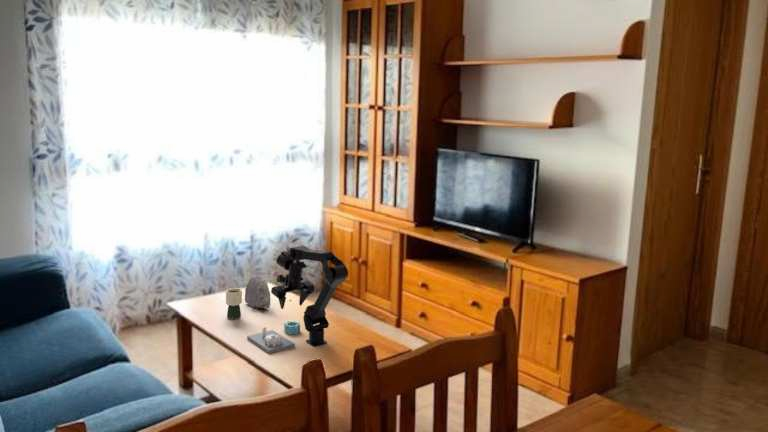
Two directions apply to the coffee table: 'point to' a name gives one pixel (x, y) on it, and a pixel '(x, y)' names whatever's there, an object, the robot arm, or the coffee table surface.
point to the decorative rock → (257, 293)
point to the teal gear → (292, 327)
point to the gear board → (269, 348)
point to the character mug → (233, 302)
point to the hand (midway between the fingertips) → (291, 306)
